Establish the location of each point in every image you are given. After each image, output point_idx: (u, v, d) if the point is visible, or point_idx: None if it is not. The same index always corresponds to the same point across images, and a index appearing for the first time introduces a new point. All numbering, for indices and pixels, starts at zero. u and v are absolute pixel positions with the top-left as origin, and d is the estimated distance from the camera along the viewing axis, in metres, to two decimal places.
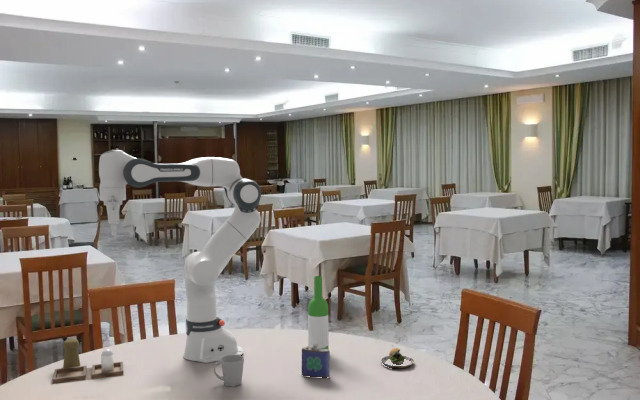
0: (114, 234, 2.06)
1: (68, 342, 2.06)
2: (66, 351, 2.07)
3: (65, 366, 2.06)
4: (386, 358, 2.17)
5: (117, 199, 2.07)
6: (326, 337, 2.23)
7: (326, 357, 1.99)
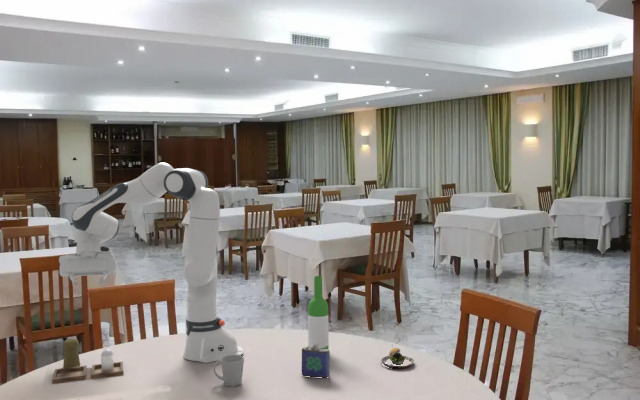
0: None
1: (68, 342, 2.06)
2: (66, 351, 2.07)
3: (65, 366, 2.06)
4: (386, 358, 2.17)
5: (76, 254, 2.25)
6: (326, 337, 2.23)
7: (326, 357, 1.99)
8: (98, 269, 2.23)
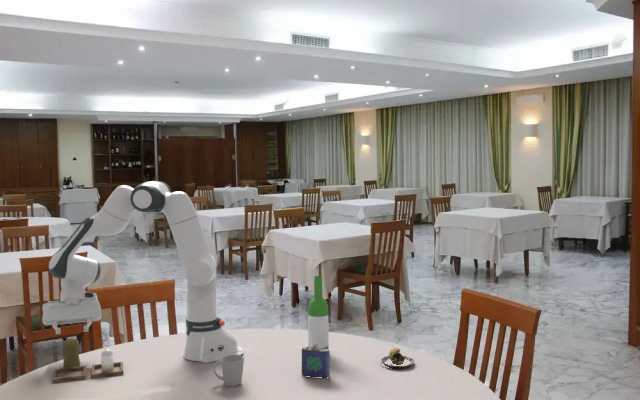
0: None
1: (68, 342, 2.06)
2: (66, 351, 2.07)
3: (65, 366, 2.06)
4: (386, 358, 2.17)
5: (60, 301, 2.20)
6: (326, 337, 2.23)
7: (326, 357, 1.99)
8: (82, 316, 2.18)
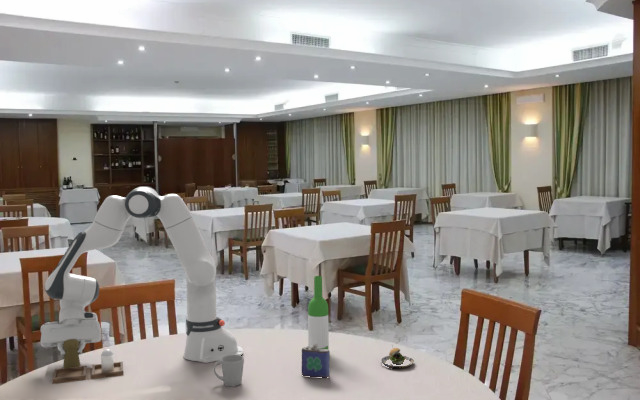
0: None
1: (68, 342, 2.06)
2: (66, 351, 2.07)
3: (65, 366, 2.06)
4: (386, 358, 2.17)
5: (59, 322, 2.13)
6: (326, 337, 2.23)
7: (326, 357, 1.99)
8: (82, 338, 2.11)
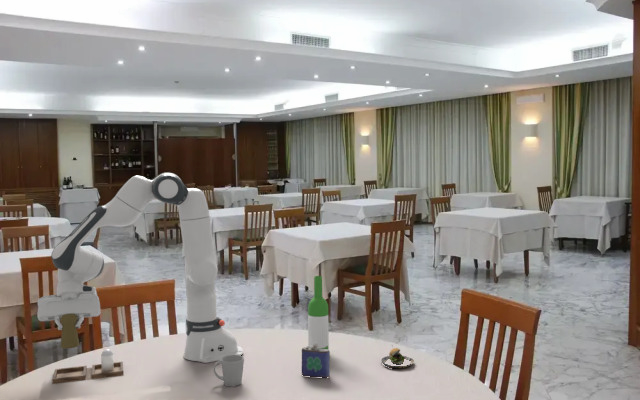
0: (58, 328, 2.00)
1: (66, 316, 1.99)
2: (64, 326, 1.99)
3: (63, 341, 1.99)
4: (386, 358, 2.17)
5: (57, 295, 2.06)
6: (326, 337, 2.23)
7: (326, 357, 1.99)
8: (80, 312, 2.04)
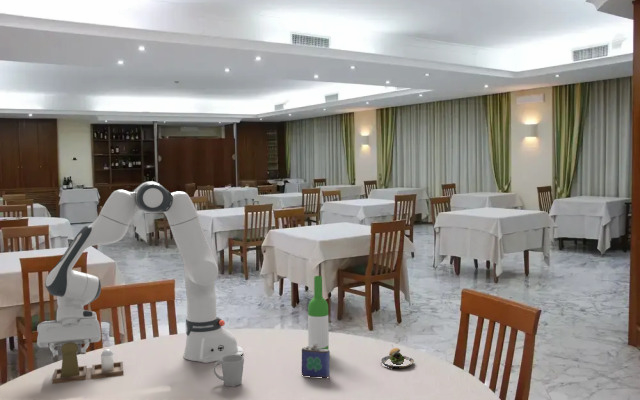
0: None
1: (66, 346, 1.97)
2: (64, 356, 1.97)
3: (63, 371, 1.97)
4: (386, 358, 2.17)
5: (57, 321, 2.04)
6: (326, 337, 2.23)
7: (326, 357, 1.99)
8: (80, 338, 2.01)
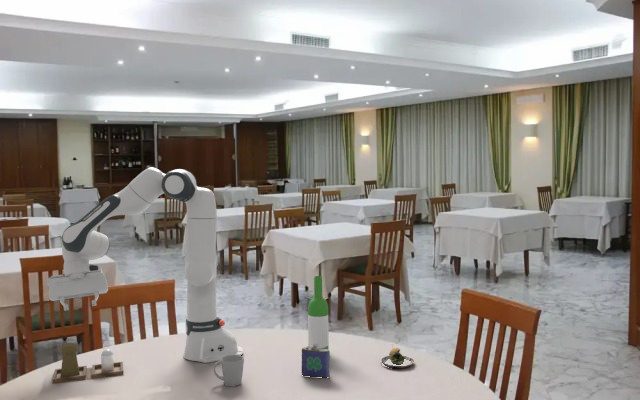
0: (64, 308, 2.11)
1: (66, 346, 1.97)
2: (64, 356, 1.97)
3: (63, 371, 1.97)
4: (386, 358, 2.17)
5: (65, 275, 2.15)
6: (326, 337, 2.23)
7: (326, 357, 1.99)
8: (89, 291, 2.15)
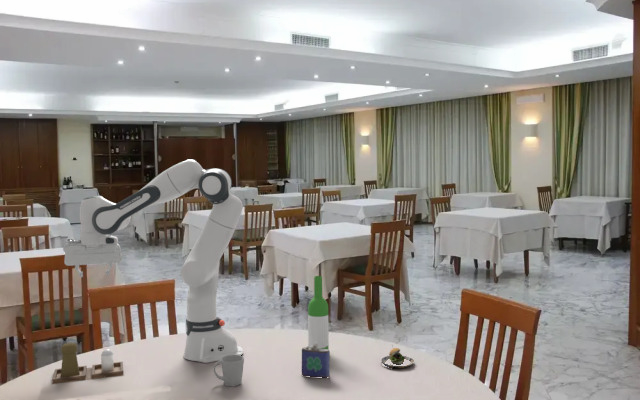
0: (78, 275, 2.19)
1: (66, 346, 1.97)
2: (64, 356, 1.97)
3: (63, 371, 1.97)
4: (386, 358, 2.17)
5: (81, 243, 2.17)
6: (326, 337, 2.23)
7: (326, 357, 1.99)
8: (103, 262, 2.20)
